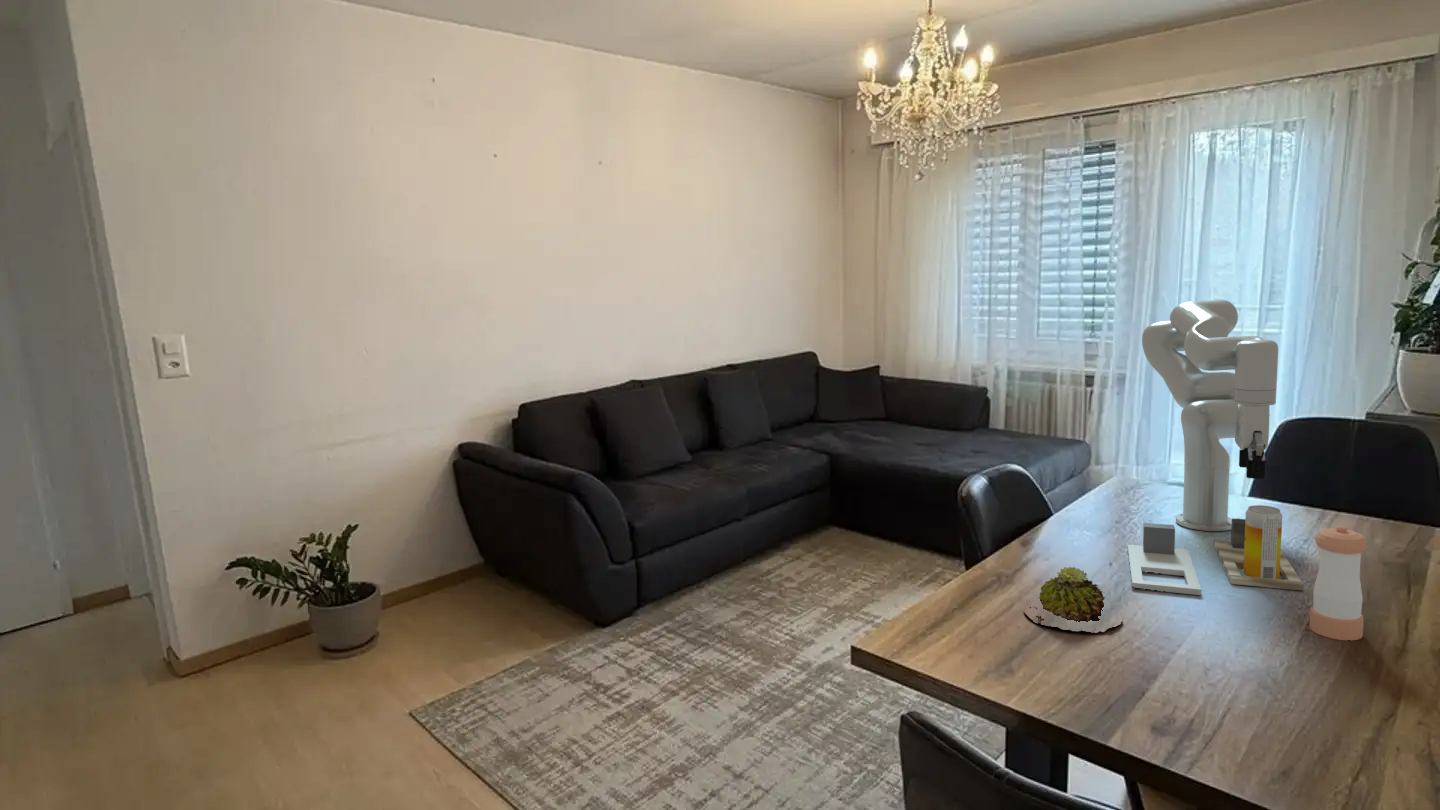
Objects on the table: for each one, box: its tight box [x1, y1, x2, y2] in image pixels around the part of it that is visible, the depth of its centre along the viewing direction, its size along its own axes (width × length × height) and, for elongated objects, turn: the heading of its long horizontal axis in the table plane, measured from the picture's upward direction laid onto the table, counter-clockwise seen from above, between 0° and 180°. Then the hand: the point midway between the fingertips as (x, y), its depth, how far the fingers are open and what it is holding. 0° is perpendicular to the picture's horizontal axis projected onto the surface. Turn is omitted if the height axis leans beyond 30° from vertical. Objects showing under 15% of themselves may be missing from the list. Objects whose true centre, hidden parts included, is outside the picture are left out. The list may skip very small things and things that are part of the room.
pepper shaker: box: [1308, 525, 1368, 641], centre depth 131 cm, size 7×7×19 cm
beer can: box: [1242, 504, 1283, 579], centre depth 155 cm, size 6×6×15 cm
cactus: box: [1039, 566, 1107, 622], centre depth 144 cm, size 17×16×10 cm
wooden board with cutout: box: [1213, 518, 1305, 592], centre depth 162 cm, size 24×12×7 cm, turn 154°
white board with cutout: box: [1127, 522, 1202, 596], centre depth 163 cm, size 24×12×7 cm, turn 154°
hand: (1251, 472), depth 167 cm, fingers open, 9 cm apart
